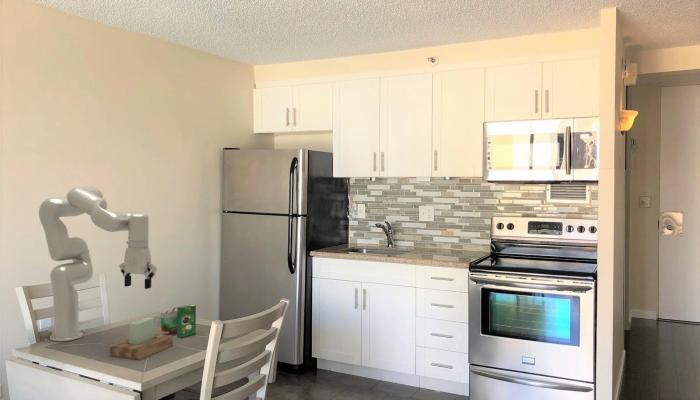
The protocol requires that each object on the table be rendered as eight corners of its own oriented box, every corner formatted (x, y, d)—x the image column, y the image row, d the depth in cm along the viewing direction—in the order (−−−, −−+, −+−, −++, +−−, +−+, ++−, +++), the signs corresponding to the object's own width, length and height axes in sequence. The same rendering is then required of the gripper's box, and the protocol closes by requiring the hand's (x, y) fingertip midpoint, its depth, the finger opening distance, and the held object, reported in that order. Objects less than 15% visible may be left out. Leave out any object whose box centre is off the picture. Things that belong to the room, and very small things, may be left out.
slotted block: (109, 356, 218) (109, 345, 218) (144, 341, 237) (144, 332, 237) (140, 360, 214) (140, 349, 214) (172, 345, 233) (172, 335, 233)
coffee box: (192, 333, 251) (192, 303, 250) (196, 334, 249) (196, 304, 248) (176, 336, 245) (176, 306, 244) (180, 338, 243) (180, 307, 242)
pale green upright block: (129, 353, 221) (129, 323, 221) (146, 346, 231) (145, 317, 230) (138, 354, 220) (137, 324, 220) (154, 347, 230) (154, 318, 229)
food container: (173, 337, 245) (172, 314, 244) (159, 336, 246) (159, 313, 245) (186, 329, 257) (186, 307, 256) (174, 328, 258) (174, 306, 258)
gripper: (113, 244, 225) (113, 286, 226) (150, 247, 219) (149, 291, 220) (127, 242, 232) (126, 283, 233) (162, 245, 227) (162, 287, 227)
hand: (137, 287), depth 227 cm, fingers open, 9 cm apart
